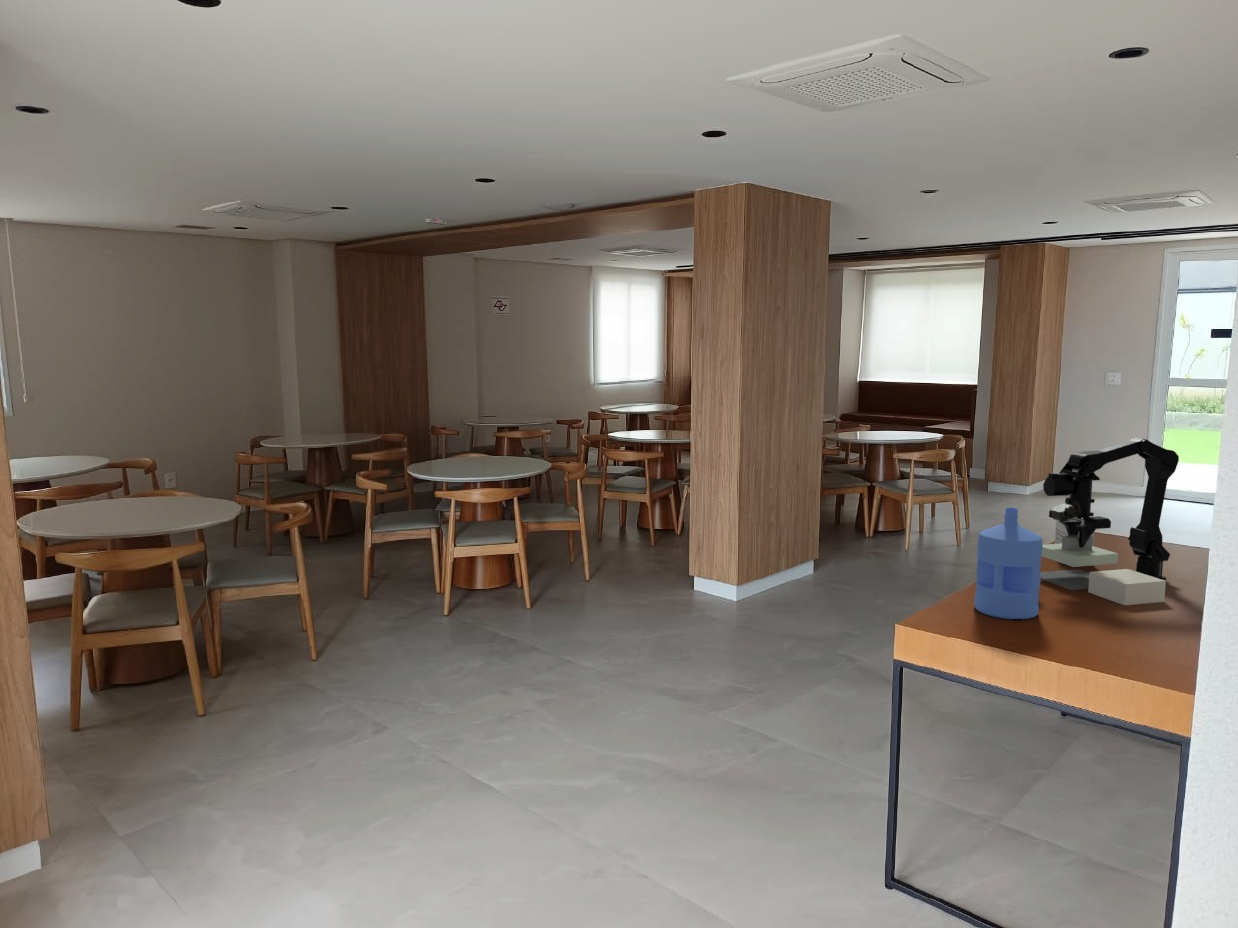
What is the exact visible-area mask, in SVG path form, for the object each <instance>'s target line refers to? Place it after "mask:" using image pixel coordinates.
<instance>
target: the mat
mask: <svg viewBox="0 0 1238 928" xmlns="http://www.w3.org/2000/svg"><path fill="white" fill-rule="evenodd" d="M1089 573H1090V572H1086V571H1083V570H1080V569H1067V570H1066V569H1064V570H1054V571H1040V575H1041V581H1044V582H1047V583H1050V584H1053V585H1056V586H1058V587H1061V588H1064V589H1065V590H1068V591H1071V590H1072V591H1082V590H1088V587H1089Z"/></svg>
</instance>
